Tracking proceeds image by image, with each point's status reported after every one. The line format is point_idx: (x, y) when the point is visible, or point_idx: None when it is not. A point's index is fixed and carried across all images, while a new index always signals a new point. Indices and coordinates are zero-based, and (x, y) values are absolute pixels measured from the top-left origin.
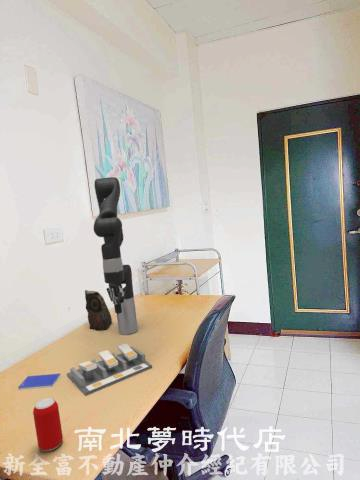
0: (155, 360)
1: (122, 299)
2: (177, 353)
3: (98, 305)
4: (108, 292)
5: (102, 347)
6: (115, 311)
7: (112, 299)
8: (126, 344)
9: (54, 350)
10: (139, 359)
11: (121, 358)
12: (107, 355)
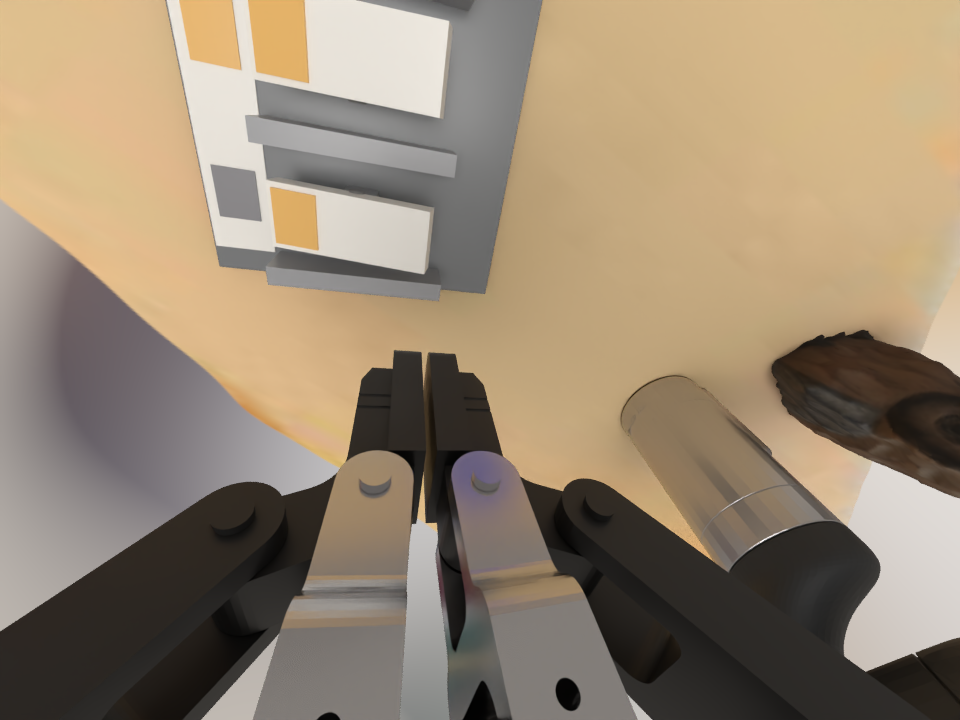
0: (296, 317)
1: (188, 656)
2: (287, 408)
3: (930, 436)
4: (844, 716)
5: (662, 247)
6: (436, 363)
7: (539, 536)
8: (409, 268)
9: (948, 36)
10: (318, 258)
11: (322, 153)
12: (371, 64)
